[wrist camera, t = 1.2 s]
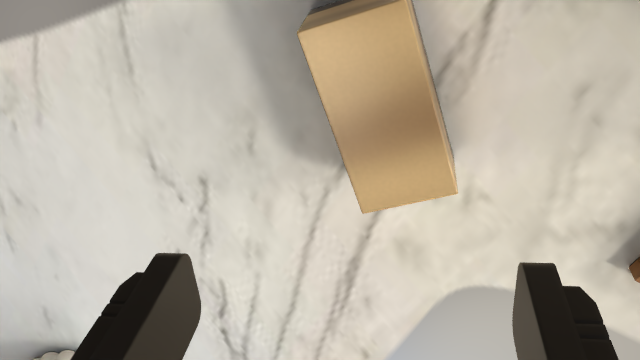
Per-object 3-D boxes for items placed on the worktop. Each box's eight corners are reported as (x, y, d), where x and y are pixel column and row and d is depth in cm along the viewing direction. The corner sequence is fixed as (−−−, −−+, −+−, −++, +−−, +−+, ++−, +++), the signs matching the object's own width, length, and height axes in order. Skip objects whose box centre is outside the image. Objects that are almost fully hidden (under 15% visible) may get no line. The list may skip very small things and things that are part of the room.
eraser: (309, 10, 29) (295, 32, 25) (406, -22, 27) (405, -3, 24) (367, 176, 33) (362, 214, 30) (453, 156, 32) (458, 194, 28)
